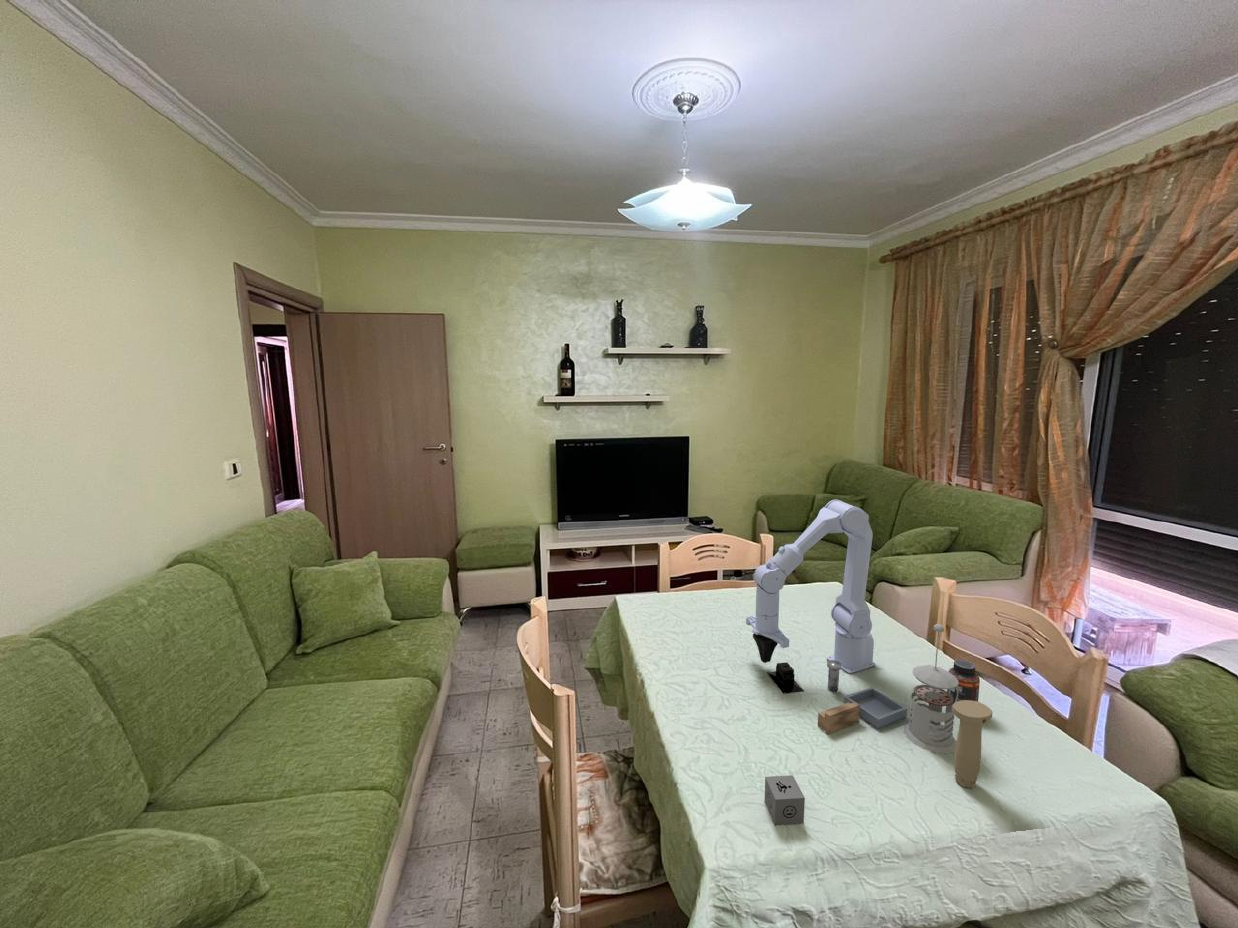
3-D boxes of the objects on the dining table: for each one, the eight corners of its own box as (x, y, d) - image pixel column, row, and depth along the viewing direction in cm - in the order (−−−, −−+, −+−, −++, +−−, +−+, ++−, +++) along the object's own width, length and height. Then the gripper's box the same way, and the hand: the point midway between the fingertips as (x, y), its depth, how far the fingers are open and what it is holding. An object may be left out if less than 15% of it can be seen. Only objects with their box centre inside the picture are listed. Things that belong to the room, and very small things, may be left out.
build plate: (810, 697, 120) (811, 679, 120) (781, 700, 119) (782, 682, 119) (786, 668, 133) (786, 652, 132) (759, 671, 132) (760, 654, 131)
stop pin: (832, 684, 124) (833, 658, 123) (843, 691, 121) (844, 665, 120) (822, 687, 123) (824, 661, 122) (833, 694, 120) (834, 668, 119)
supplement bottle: (972, 704, 116) (976, 658, 114) (981, 720, 110) (985, 672, 108) (942, 699, 118) (946, 654, 116) (949, 715, 112) (953, 668, 110)
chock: (847, 714, 113) (848, 697, 112) (859, 722, 110) (860, 704, 109) (817, 725, 109) (818, 707, 109) (828, 733, 106) (829, 715, 106)
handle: (939, 776, 94) (946, 703, 92) (967, 770, 96) (974, 697, 94) (962, 796, 90) (969, 719, 88) (991, 789, 91) (999, 713, 89)
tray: (871, 696, 119) (872, 686, 119) (906, 718, 111) (907, 708, 111) (843, 706, 116) (844, 696, 115) (877, 730, 107) (878, 719, 107)
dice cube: (764, 801, 89) (765, 776, 89) (791, 800, 90) (792, 775, 89) (774, 825, 84) (775, 799, 84) (803, 824, 85) (804, 797, 84)
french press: (892, 728, 108) (900, 619, 104) (929, 714, 112) (937, 609, 109) (937, 759, 99) (947, 640, 95) (974, 742, 103) (985, 628, 100)
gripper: (737, 603, 134) (736, 651, 136) (773, 626, 121) (772, 678, 123) (758, 599, 137) (757, 645, 139) (796, 620, 124) (794, 672, 126)
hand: (765, 660), depth 131 cm, fingers closed
